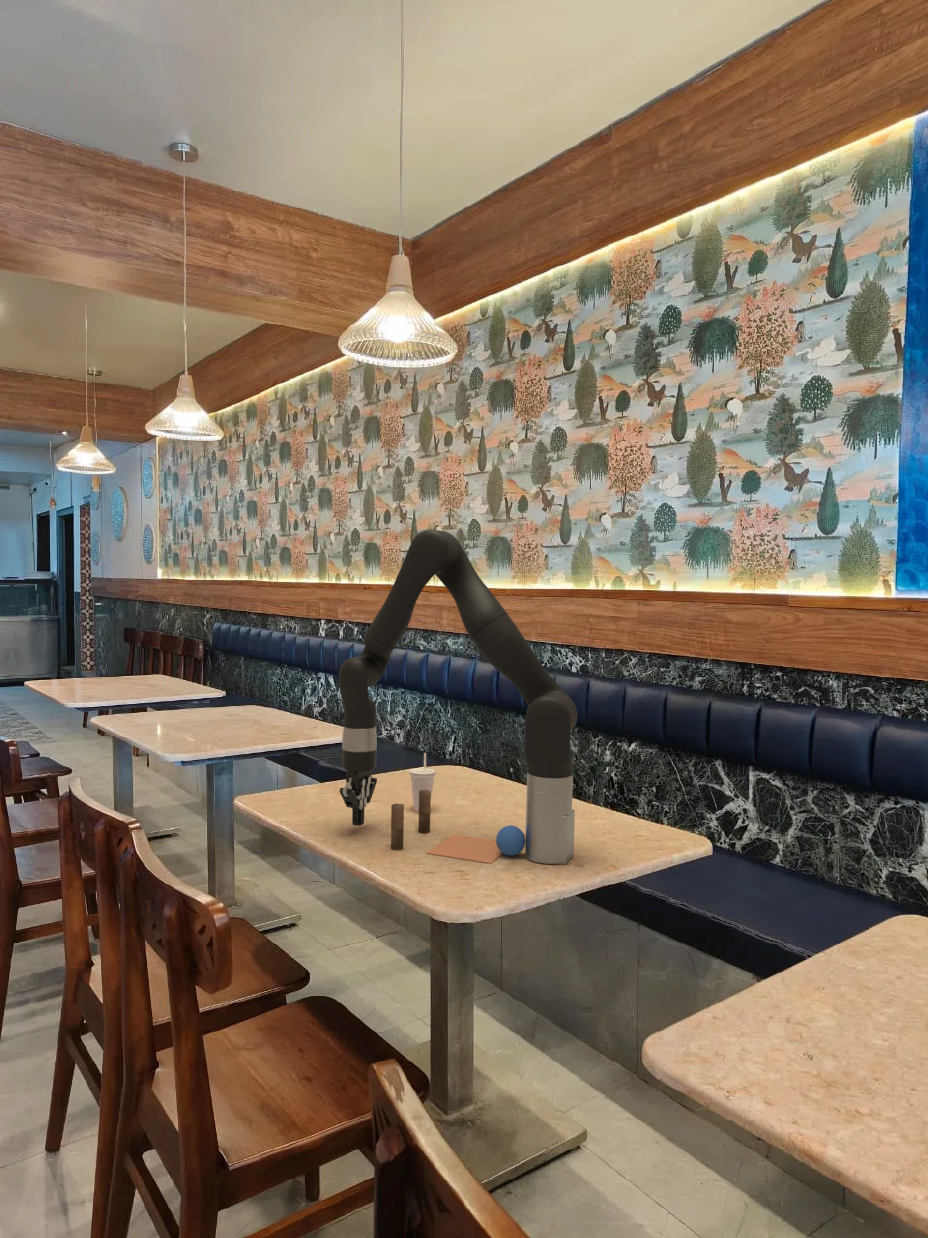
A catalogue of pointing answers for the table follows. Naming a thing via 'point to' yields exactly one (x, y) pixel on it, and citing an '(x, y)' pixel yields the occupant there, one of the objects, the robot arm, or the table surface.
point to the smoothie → (421, 782)
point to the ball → (510, 840)
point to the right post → (424, 811)
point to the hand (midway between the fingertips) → (358, 824)
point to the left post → (397, 826)
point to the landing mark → (468, 849)
